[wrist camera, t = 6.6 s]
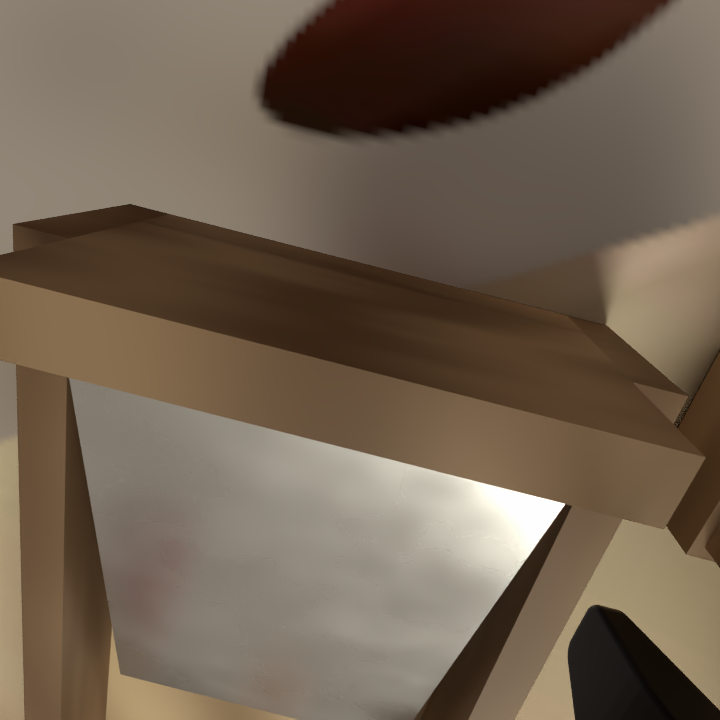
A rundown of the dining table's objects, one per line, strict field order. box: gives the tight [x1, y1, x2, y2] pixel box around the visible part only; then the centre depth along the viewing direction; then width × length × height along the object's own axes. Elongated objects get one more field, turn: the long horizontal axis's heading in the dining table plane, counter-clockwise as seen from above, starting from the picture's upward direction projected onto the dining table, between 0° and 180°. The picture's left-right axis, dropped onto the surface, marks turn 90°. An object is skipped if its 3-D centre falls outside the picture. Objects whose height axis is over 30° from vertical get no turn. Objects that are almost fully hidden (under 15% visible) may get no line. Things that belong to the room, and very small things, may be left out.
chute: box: [69, 378, 565, 720], centre depth 12 cm, size 9×13×4 cm, turn 167°
